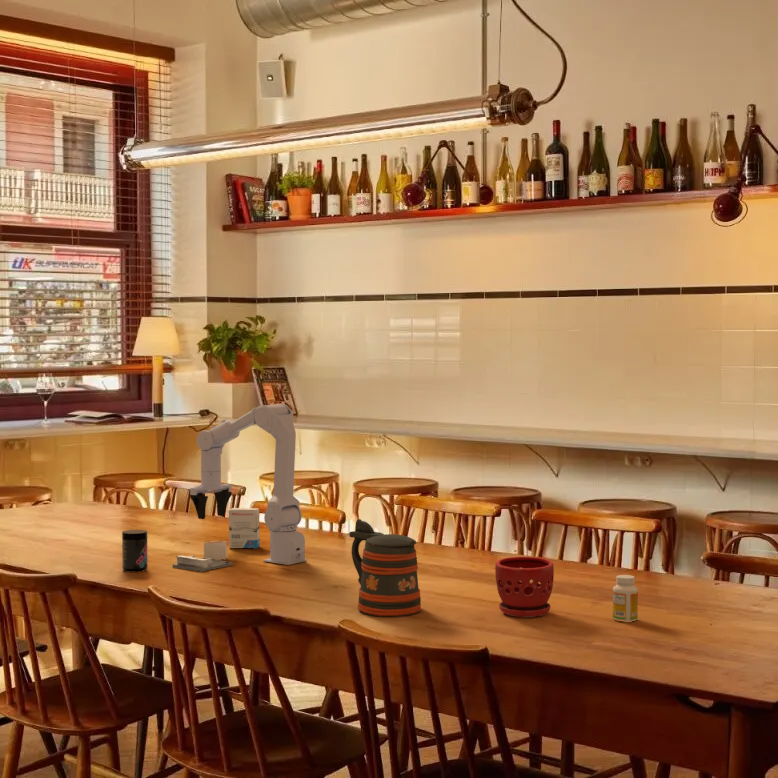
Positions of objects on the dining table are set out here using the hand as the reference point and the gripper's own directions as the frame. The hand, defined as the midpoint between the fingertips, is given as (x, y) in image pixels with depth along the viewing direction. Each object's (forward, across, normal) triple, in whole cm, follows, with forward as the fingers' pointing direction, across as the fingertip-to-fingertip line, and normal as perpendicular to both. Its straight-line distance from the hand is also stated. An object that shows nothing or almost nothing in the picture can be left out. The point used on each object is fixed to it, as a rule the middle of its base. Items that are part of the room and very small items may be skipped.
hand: (211, 517), depth 345 cm
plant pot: (+10, +10, +114) cm, 115 cm away
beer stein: (+10, +26, +86) cm, 90 cm away
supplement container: (+10, +32, +5) cm, 34 cm away
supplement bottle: (+10, 0, +135) cm, 135 cm away
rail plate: (+10, +17, +16) cm, 25 cm away
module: (+10, +8, +10) cm, 17 cm away
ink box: (+10, -10, +3) cm, 15 cm away
